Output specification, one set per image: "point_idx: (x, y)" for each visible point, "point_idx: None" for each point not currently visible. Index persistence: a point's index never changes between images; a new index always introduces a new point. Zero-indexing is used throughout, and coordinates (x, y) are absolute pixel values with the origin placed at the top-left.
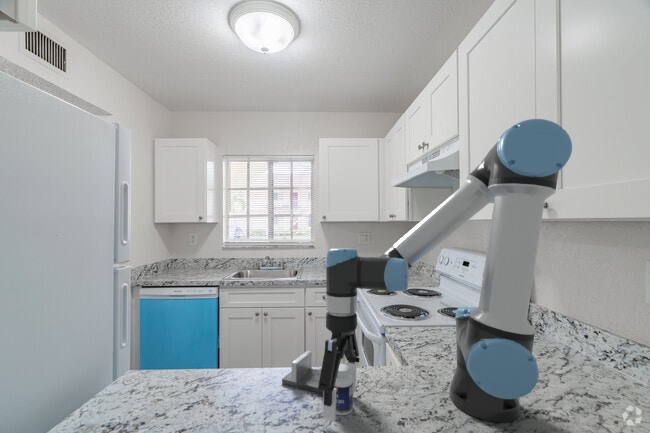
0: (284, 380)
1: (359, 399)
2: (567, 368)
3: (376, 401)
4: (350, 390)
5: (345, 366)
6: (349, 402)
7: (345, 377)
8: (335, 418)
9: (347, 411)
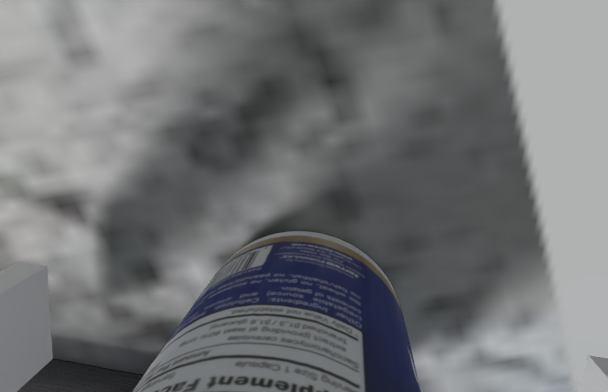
0: None
1: (109, 197)
2: None
3: (69, 32)
4: (338, 372)
5: None
6: (358, 292)
7: None
8: (600, 364)
9: (374, 269)
